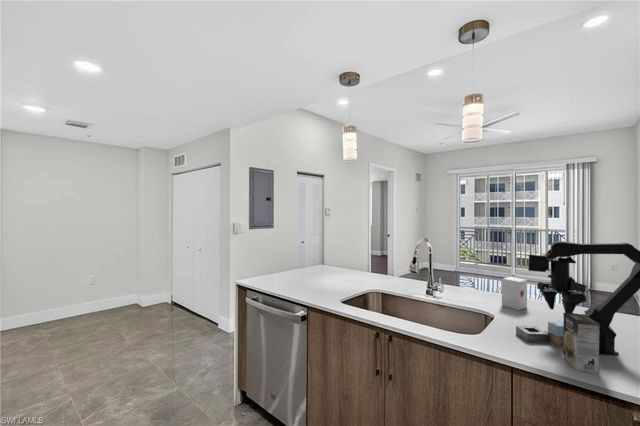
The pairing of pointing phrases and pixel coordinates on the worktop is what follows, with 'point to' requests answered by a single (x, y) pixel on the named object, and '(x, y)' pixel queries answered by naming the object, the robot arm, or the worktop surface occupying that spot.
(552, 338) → the tan shallow tray
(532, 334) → the port
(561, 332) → the plug
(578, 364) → the coffee box
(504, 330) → the worktop surface
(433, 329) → the worktop surface
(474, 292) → the worktop surface
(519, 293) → the supplement box
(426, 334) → the worktop surface
